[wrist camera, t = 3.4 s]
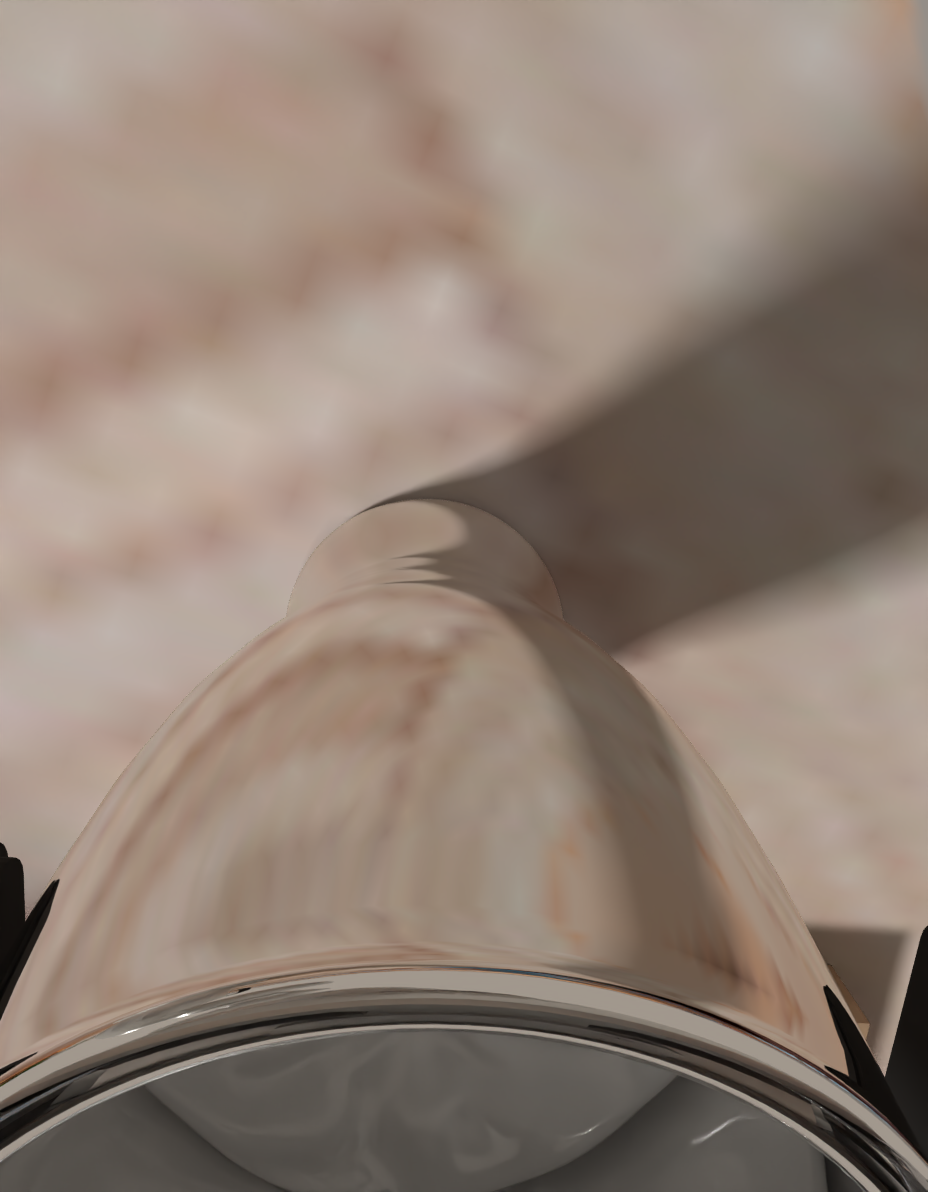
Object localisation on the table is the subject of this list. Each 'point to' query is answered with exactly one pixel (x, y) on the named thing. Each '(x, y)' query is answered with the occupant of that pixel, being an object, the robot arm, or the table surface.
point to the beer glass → (429, 924)
